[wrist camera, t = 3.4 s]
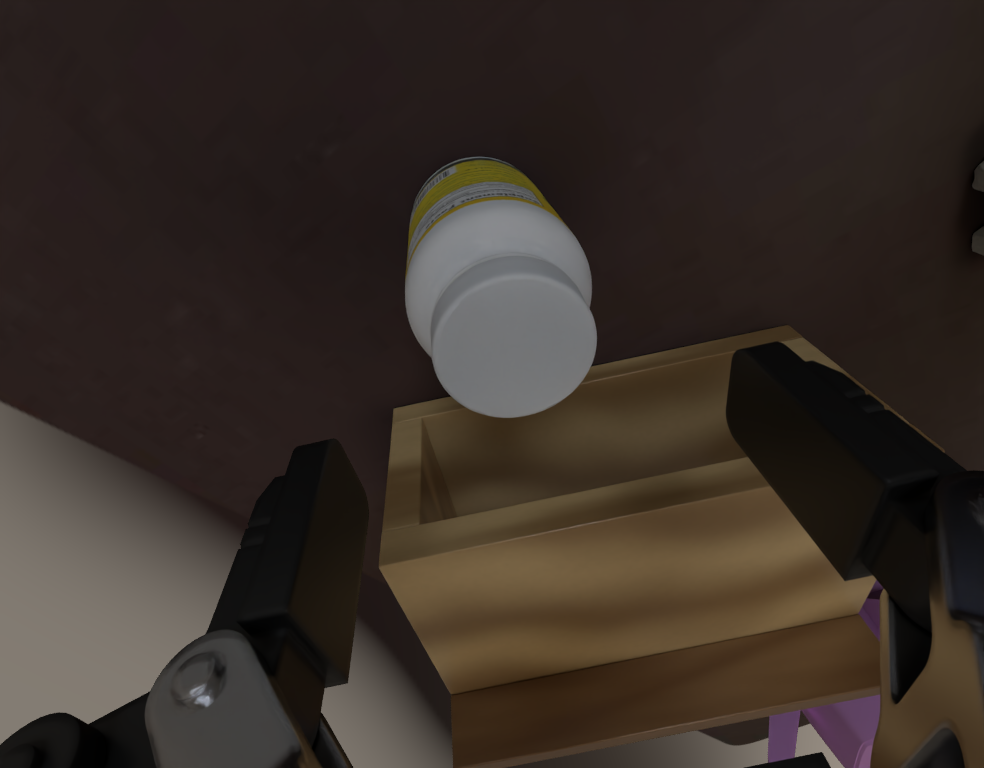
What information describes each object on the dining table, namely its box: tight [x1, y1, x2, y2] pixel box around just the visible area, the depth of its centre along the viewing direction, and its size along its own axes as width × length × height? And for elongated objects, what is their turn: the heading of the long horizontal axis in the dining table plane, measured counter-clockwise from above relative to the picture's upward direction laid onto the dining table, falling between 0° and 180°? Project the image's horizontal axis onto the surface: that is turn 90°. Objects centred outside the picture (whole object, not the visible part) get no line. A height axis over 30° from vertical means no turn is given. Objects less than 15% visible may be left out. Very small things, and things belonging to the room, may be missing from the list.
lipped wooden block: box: [379, 325, 945, 768], centre depth 23 cm, size 12×20×12 cm, turn 100°
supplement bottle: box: [405, 157, 597, 418], centre depth 15 cm, size 5×5×10 cm
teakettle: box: [768, 580, 883, 768], centre depth 36 cm, size 17×17×12 cm
